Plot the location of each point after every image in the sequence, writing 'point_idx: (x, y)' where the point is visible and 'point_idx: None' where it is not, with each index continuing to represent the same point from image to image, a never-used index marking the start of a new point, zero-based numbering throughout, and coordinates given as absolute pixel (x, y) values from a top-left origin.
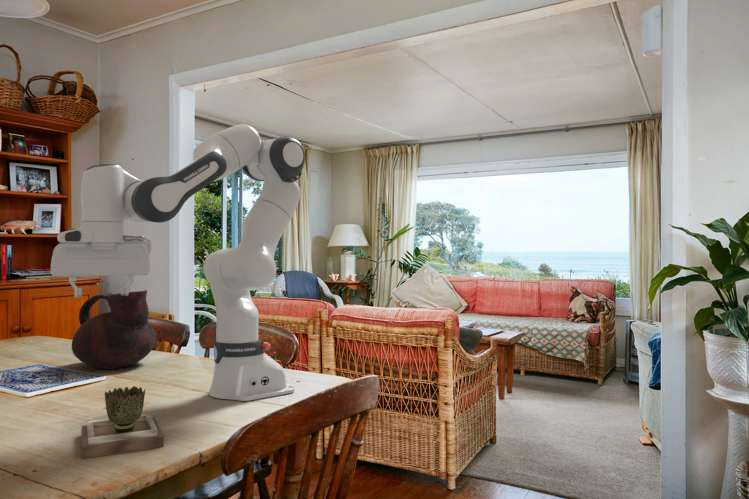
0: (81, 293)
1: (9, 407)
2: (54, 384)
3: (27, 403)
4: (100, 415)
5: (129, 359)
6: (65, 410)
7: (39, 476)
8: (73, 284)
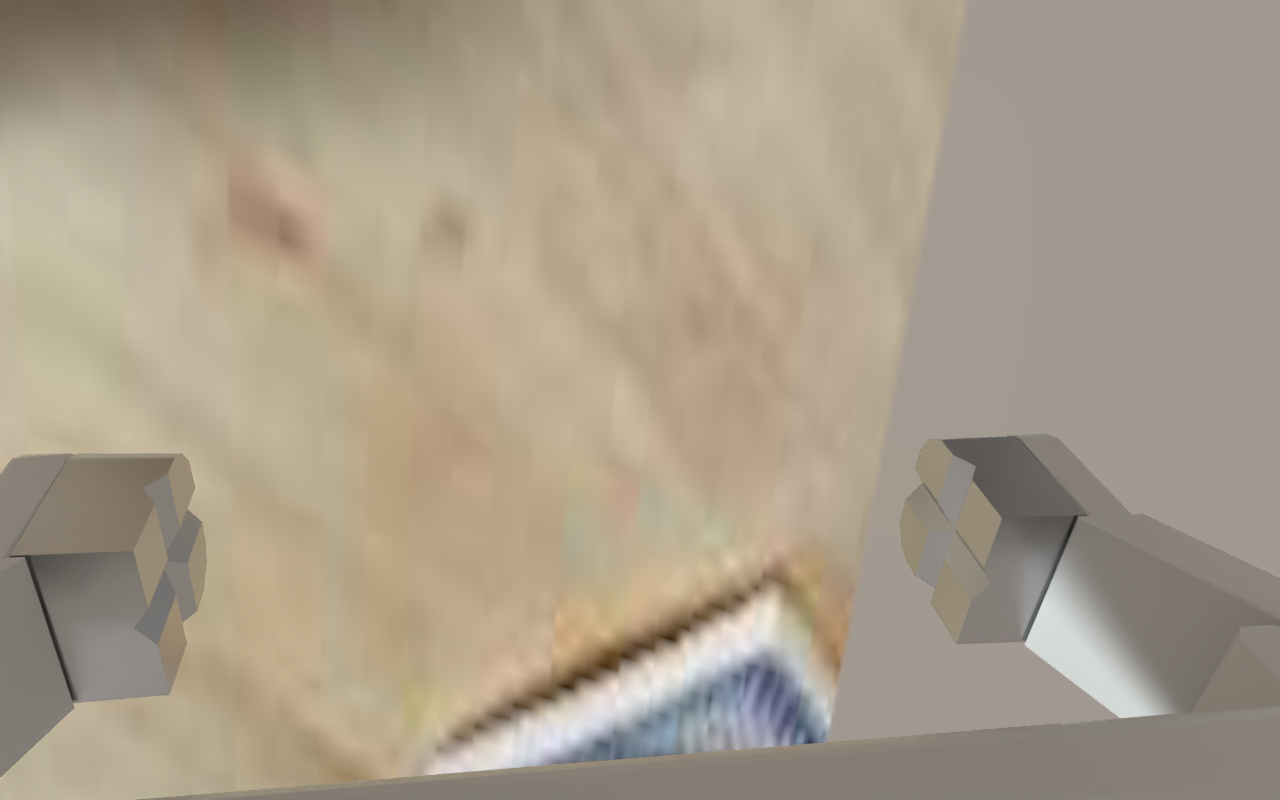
0: (968, 462)
1: (871, 445)
2: (651, 738)
3: (796, 481)
4: (495, 80)
5: None
6: (659, 281)
7: None
8: (1227, 575)
